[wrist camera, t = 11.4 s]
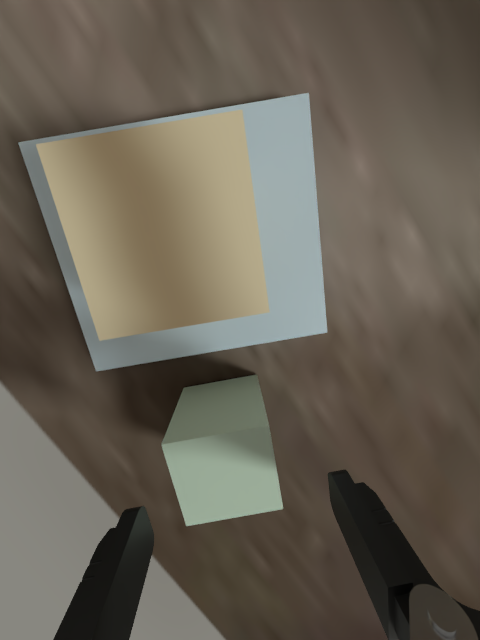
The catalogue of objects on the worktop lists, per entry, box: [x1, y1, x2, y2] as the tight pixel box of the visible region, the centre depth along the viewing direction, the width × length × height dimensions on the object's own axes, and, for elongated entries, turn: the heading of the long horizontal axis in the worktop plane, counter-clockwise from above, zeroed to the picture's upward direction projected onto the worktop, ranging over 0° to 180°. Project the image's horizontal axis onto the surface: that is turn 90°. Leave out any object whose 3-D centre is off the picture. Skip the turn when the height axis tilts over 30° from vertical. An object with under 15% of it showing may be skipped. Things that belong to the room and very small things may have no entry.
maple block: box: [36, 110, 270, 341], centre depth 10 cm, size 6×6×5 cm
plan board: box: [18, 93, 327, 371], centre depth 13 cm, size 14×12×1 cm
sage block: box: [161, 375, 283, 526], centre depth 13 cm, size 5×5×5 cm
